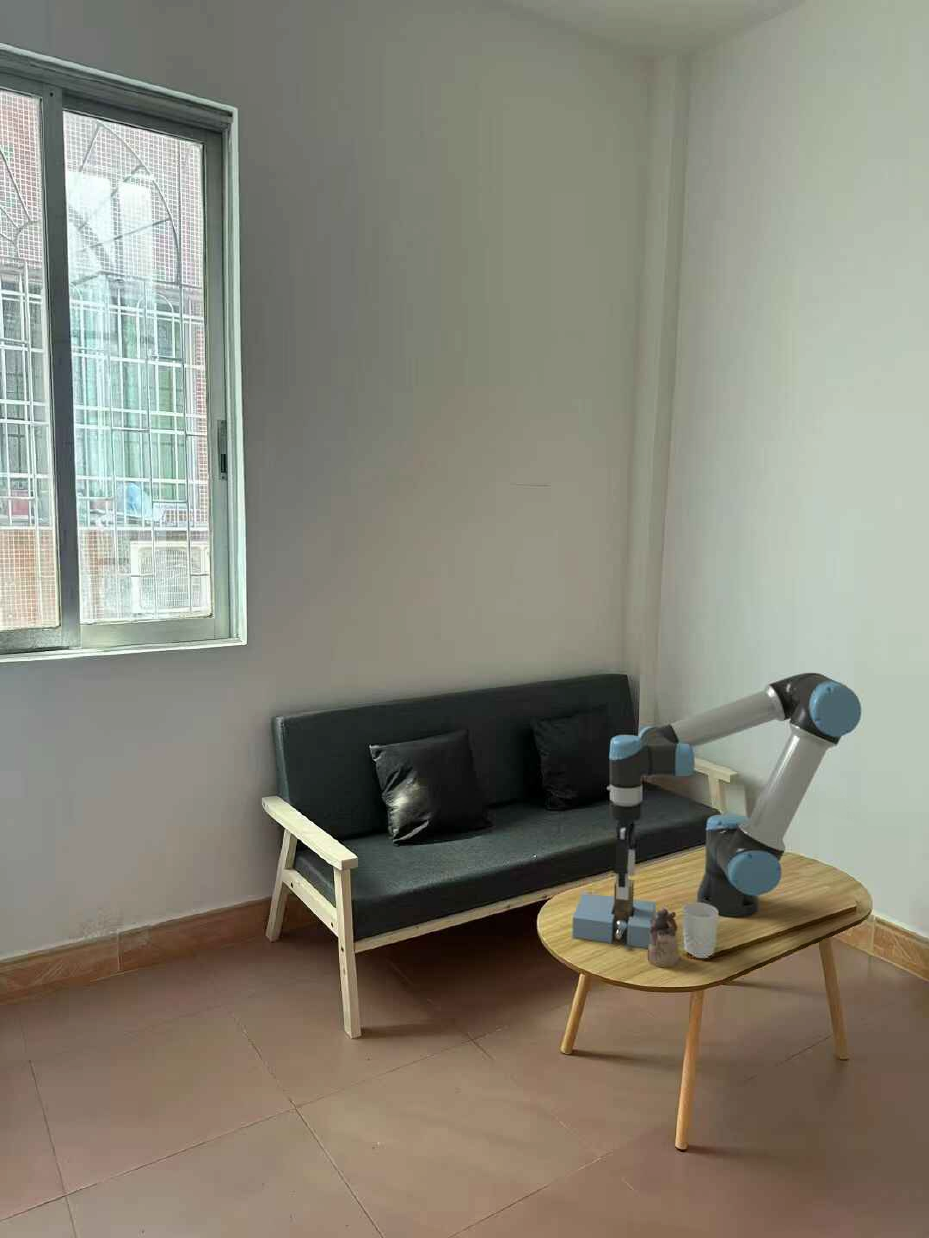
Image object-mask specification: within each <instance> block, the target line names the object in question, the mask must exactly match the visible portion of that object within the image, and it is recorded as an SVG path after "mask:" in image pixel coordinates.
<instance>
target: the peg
mask: <svg viewBox="0 0 929 1238" xmlns="http://www.w3.org/2000/svg"><path fill="white" fill-rule="evenodd" d="M634 882H635V880H634V879H629V878H628V900H623V899H616V881H615V882H614V895H613V897H614V933H616V929H615V923H616V921H618V920H624V921H625V922H626V923H627V925H628V921H629V917H633V902H634V894H635V893H634V892H635V891H634V890H635V889H634V886H635V883H634ZM623 934H624V935H627V930H626V931H625V932H624V933H622V935H623Z"/></svg>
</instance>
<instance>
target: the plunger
mask: <svg viewBox="0 0 929 1238" xmlns="http://www.w3.org/2000/svg"><path fill="white" fill-rule="evenodd" d="M615 929H616V932H615V934H614V937H615V938H616V939H617V940H621V939H622V936H623V934H622V933H624V932H625V931H626V930H627V923H626V922H625V921H624V920H618V921H616V923H615Z"/></svg>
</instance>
